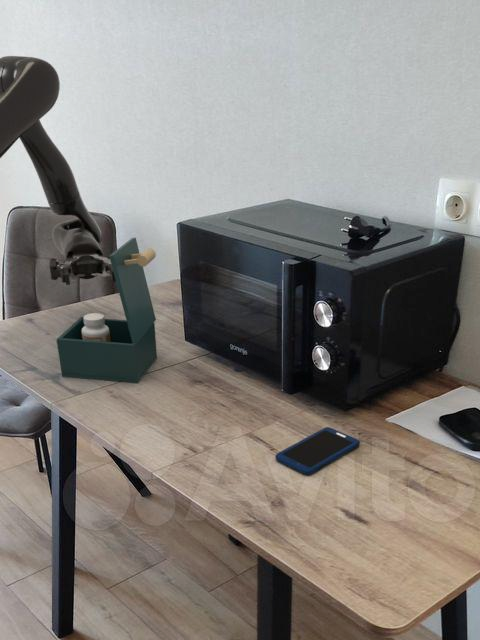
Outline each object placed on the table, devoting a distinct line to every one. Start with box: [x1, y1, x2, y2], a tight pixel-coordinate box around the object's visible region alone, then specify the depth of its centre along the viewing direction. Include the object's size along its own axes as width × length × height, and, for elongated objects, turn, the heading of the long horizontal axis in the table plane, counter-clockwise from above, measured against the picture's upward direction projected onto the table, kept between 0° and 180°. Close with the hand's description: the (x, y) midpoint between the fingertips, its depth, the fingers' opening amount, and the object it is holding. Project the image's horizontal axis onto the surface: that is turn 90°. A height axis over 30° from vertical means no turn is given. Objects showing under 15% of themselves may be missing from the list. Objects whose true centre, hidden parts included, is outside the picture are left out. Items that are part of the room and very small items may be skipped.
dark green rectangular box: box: [55, 316, 158, 384], centre depth 141 cm, size 16×13×8 cm
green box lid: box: [108, 237, 157, 343], centre depth 133 cm, size 16×13×5 cm
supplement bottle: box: [82, 312, 111, 342], centre depth 140 cm, size 5×5×10 cm
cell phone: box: [274, 426, 361, 475], centre depth 115 cm, size 7×14×1 cm, turn 137°
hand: (91, 277), depth 131 cm, fingers open, 8 cm apart
